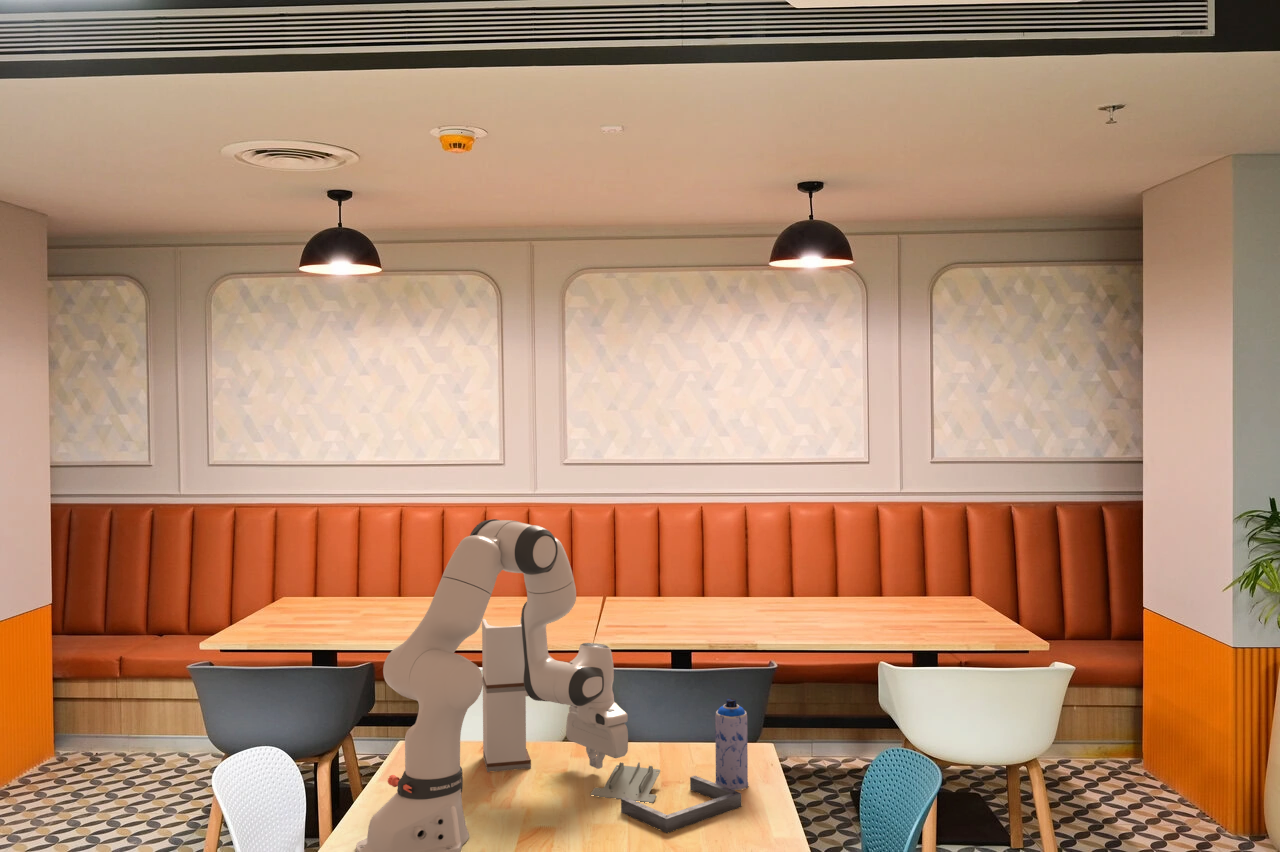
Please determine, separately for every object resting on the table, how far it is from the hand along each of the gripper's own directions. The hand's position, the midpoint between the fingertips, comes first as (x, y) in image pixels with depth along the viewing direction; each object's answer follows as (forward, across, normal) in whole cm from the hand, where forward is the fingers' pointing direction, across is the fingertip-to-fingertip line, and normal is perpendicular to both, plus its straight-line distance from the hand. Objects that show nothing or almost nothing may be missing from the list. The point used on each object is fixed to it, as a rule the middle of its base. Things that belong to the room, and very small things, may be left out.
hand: (596, 766), depth 252 cm
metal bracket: (+2, +14, -1) cm, 14 cm away
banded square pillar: (+2, -21, -12) cm, 24 cm away
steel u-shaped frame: (+2, +30, 0) cm, 30 cm away
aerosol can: (+2, +27, +19) cm, 33 cm away
